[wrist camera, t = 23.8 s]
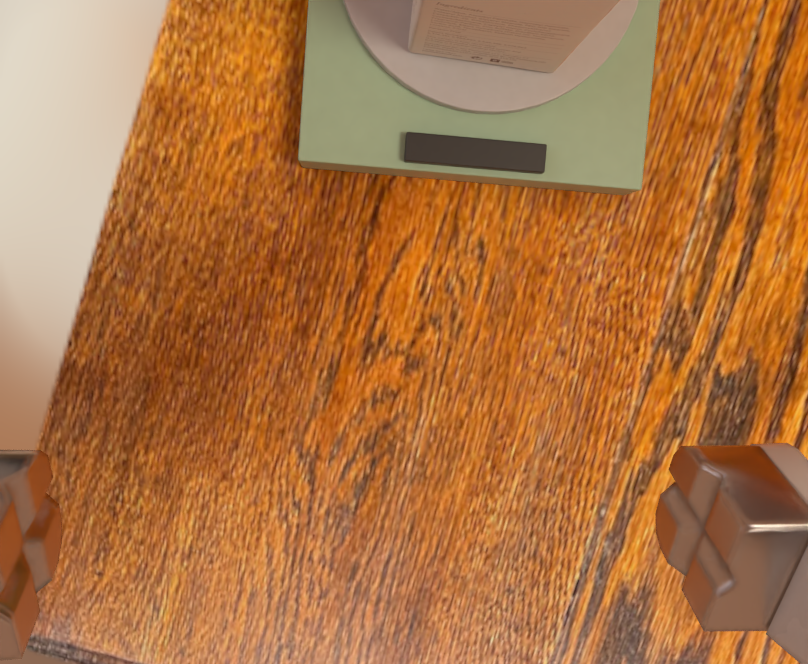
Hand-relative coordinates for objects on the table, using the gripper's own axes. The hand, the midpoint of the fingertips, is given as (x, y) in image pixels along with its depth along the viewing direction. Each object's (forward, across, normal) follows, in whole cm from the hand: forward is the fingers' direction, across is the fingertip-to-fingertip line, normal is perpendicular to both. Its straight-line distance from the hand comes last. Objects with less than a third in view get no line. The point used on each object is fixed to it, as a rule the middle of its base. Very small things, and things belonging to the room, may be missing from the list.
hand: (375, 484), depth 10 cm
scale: (+29, -7, -3) cm, 30 cm away
